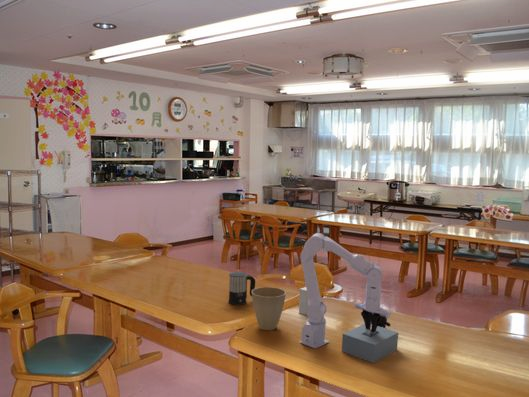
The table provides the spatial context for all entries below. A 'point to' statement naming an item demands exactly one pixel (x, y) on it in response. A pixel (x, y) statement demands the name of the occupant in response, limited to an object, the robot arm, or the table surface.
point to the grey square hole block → (369, 343)
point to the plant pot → (268, 306)
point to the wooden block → (369, 332)
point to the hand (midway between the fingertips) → (370, 330)
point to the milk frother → (239, 287)
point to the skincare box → (303, 301)
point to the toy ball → (382, 322)
